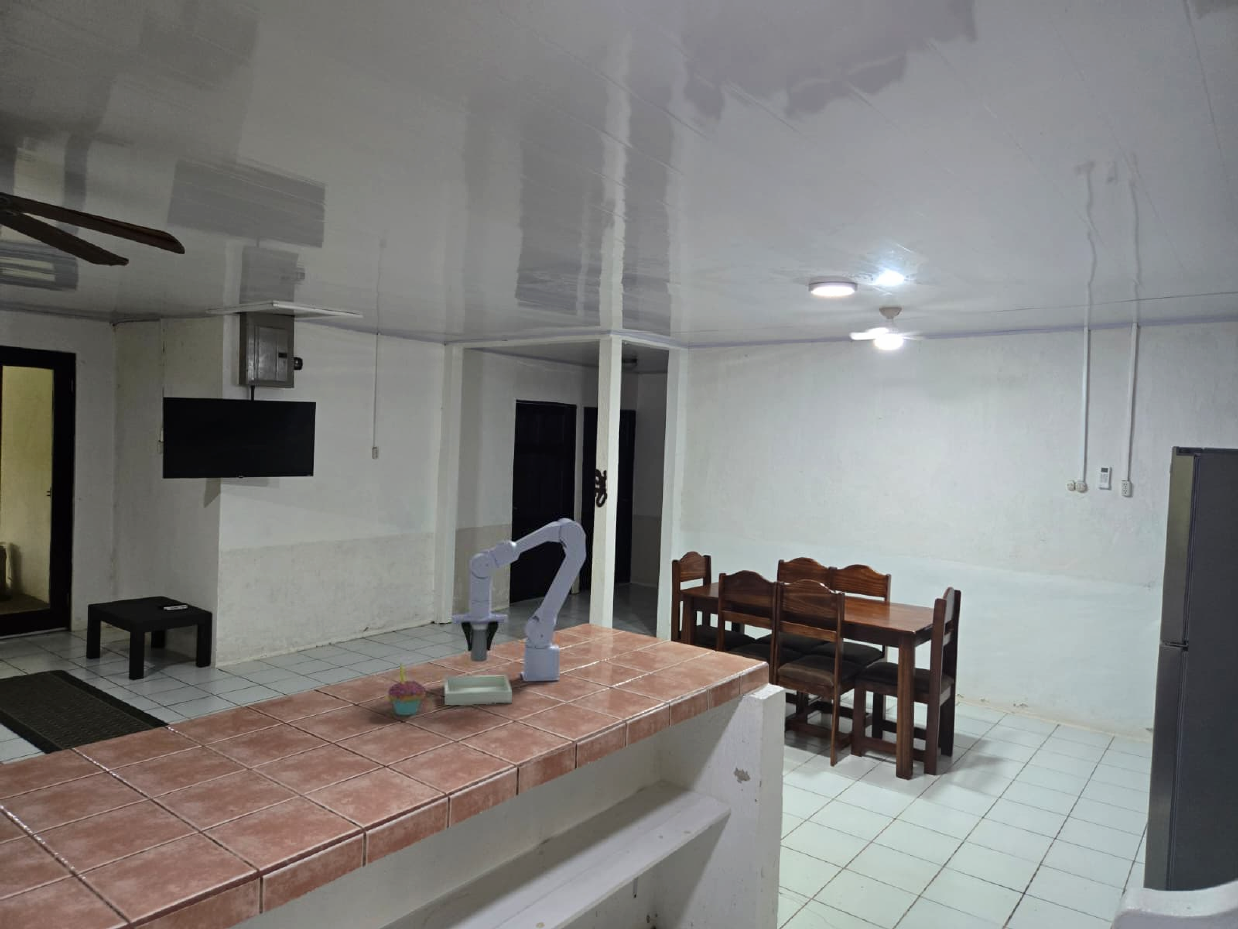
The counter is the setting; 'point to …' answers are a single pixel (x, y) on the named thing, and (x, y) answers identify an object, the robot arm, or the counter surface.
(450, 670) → the counter surface
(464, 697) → the tray
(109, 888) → the counter surface
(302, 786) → the counter surface
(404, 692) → the cupcake
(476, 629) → the cylinder
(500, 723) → the counter surface
